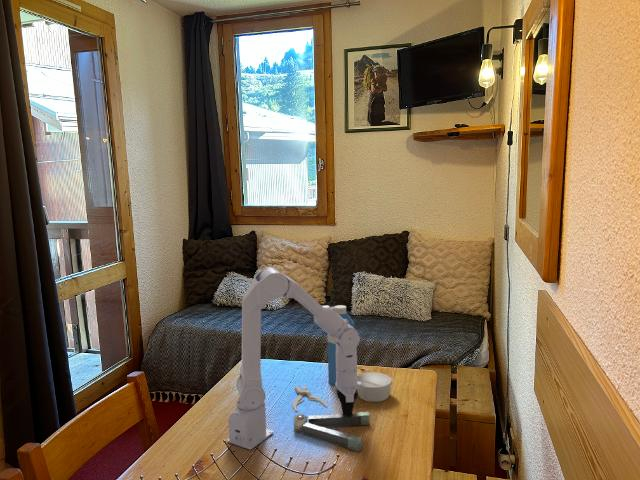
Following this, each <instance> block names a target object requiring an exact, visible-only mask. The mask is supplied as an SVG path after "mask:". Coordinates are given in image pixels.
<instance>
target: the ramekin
mask: <svg viewBox="0 0 640 480" xmlns="http://www.w3.org/2000/svg"><path fill="white" fill-rule="evenodd" d="M357 382H361V384H362V386H361V387H358V388H357V393H358V397H359V398H360V399H362V400H363V401H365V402H370V403H379V402H384V401H385V400H387V399H388V398H389V397H390V394H391V390H392V389H391V388H392V384H393V379H392V377H390V375H388V374H385V373H382V372H366V373H361V374H359V375H357Z"/></svg>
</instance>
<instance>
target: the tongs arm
mask: <svg viewBox="0 0 640 480" xmlns="http://www.w3.org/2000/svg"><path fill="white" fill-rule="evenodd" d="M307 419H308V423H310V424H314V425H317V426H321V427H324V428H327V427H343V426H344V427H345V426H349V427H350V426H366V425H367V426H368V425H369V426H370V425H371V423H370V421H371V420H370V411H360V412H359V411H357V412H355V413H352V414H343V413H339V414H338V413H336V414H318V415H307Z"/></svg>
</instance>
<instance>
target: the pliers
mask: <svg viewBox="0 0 640 480" xmlns="http://www.w3.org/2000/svg"><path fill="white" fill-rule="evenodd" d="M294 391H295V392H296V394H298V396H297V397H296V398H294V400H293V402H292V409H293V410H294V412H295V413H298V407H297V406H298V405H300V404H301V403H303V402H304V401H305V398H303V397H304V396H306V397H307V401H311V402H319V403H320V404H321V405H323V406H324V407H325V408H328V404H327V402H326V401H325V400H324V399H323V398H321V397H319V396H317V395H314V394H313V393H311V391H310V390H308V387H307V386H306V384H303V386H302V388H300V387H299V386H298V385H294Z"/></svg>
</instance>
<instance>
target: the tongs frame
mask: <svg viewBox="0 0 640 480" xmlns="http://www.w3.org/2000/svg"><path fill="white" fill-rule="evenodd" d="M293 431H294V432H295V433H296V434H297V433H298V434H303V435H304V436H307V437H311V438H314V439H318V440H321V441H324V442H327V443H331V444H332V445H333V444H334V445H337V446H341V447H344V448H346V449H348V450H352V451H354V452H358V453H359V452H360V451H361V450H362V449H363V440H364V439H363V437H361V436H357V435H354V434H349V433H344V432H341V431H337V430H334V429H332V428H331V429H330V428H327V427H321V426H317V425H314V424H310V423H309V422H308V416H306V415H304V414H302V413H299V414H296V415H294V417H293Z"/></svg>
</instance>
